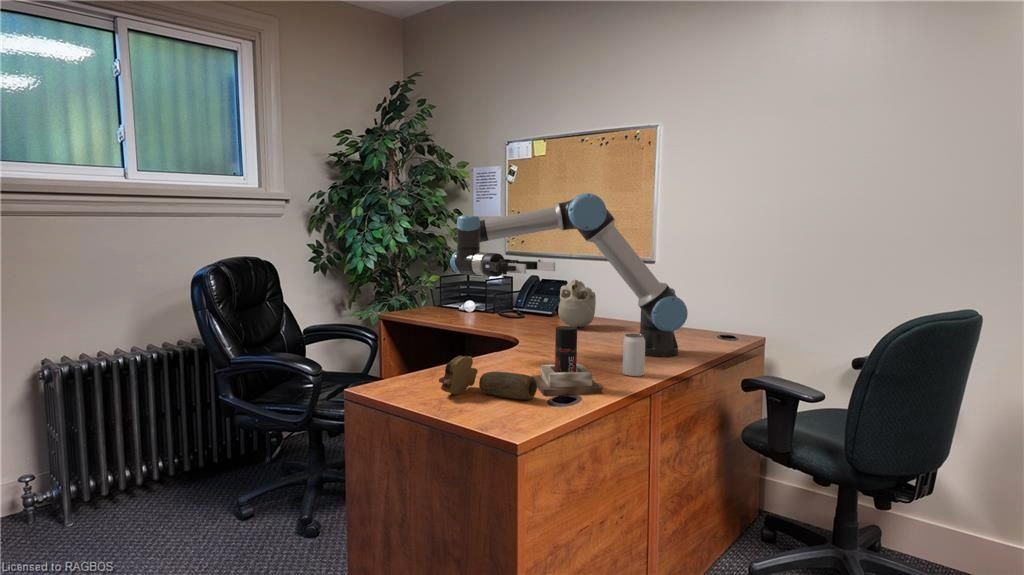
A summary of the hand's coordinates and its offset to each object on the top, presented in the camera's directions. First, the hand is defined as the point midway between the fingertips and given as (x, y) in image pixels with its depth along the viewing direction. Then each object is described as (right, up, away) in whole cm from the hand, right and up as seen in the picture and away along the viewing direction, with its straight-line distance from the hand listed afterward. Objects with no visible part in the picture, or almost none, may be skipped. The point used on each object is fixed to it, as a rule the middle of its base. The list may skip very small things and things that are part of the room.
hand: (540, 267), depth 181 cm
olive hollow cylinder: (-10, -35, -23) cm, 43 cm away
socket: (+6, -33, -12) cm, 36 cm away
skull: (+20, -24, +87) cm, 92 cm away
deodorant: (+6, -32, -12) cm, 35 cm away
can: (+28, -32, +3) cm, 43 cm away
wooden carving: (-23, -34, -19) cm, 45 cm away
